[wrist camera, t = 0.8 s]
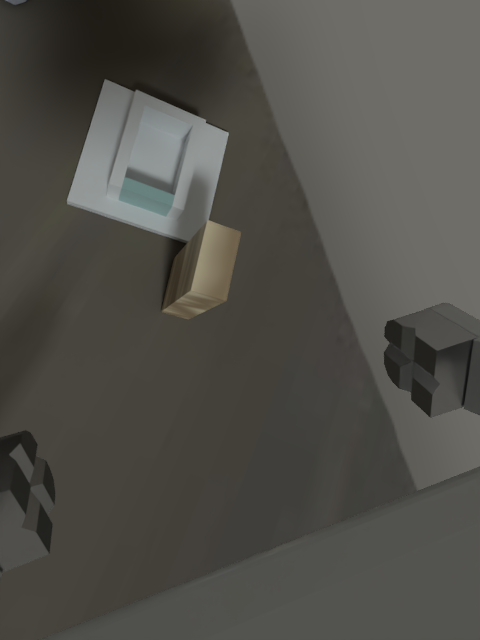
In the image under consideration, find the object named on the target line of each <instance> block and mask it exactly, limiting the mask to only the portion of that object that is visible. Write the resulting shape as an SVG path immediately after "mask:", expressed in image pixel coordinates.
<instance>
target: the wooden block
mask: <svg viewBox="0 0 480 640" xmlns="http://www.w3.org/2000/svg"><path fill="white" fill-rule="evenodd" d="M240 235H241V232H239V231H236V230H233V229H231V228H228V227H225V226H222V225H220V224H217V223H214V222H211V221H208V220H207V221H206V222H205V223H204V225H203V226H202V227H201V228H200V229H199V230H198V231H197V233H196V234H195V235H194V236H193V237H192V238H191V239H190V241H189V242H188V243H187V244H186V245H185V246H184V247H183V249H182V250H181V251H180V252H179V253H178V254H177V255H176V257H175V258H174V261H173V265H172V269H171V273H170V277H169V281H168V285H167V289H166V293H165V297H164V301H163V305H162V309H161V312H163V313H167V314H170V315H174V316H178V317H181V318H185V319H190V318H192V317H194V316H196V315H198V314H200V313H202V312H204V311H206V310H209V309H211V308H213V307H215V306H217V305H219V304H221V303H223V302H225V301H226V300H227V295H228V291H229V286H230V281H231V277H232V272H233V268H234V263H235V258H236V254H237V249H238V244H239V240H240Z"/></svg>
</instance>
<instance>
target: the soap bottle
mask: <svg viewBox="0 0 480 640" xmlns="http://www.w3.org/2000/svg"><path fill="white" fill-rule="evenodd" d="M5 1H7V2H9V3H11V4H13V5H17V4H20V3H24V2H26V1H27V0H5Z"/></svg>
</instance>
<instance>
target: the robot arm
mask: <svg viewBox="0 0 480 640" xmlns="http://www.w3.org/2000/svg"><path fill="white" fill-rule="evenodd" d="M384 336H385V338H386V339H387V340H388V341H389V342H390V344H389V345H388V347H387V349H386V350H385V352H384V365H385V368H386V371H387V374H388V376H389V377H390V379H391V380H392V382H393V383H394V384H395V385H396V386H397V387H398V388H399V389H402V390H406V391H409V392H411V400H412V401H413V402H414V403H415V404H416V405H417V406H418V407H420V408H421V409H422V410H423V411H424V412H425V413H426V414H427V415H428V416H429V417H434V416H437V415H440V414H443V413H446V412H449V411H452V410H456V409H458V408H462V407H464V409H466V410H468V411H470V412H473V413H475V414H478V415H480V320H478V319H476V318H474V317H473V316H471V315H469V314H467V313H466V312H464V311H462V310H460V309H459V308H457V307H455V306H453V305H451V304H449V303H441V304H439V305H435V306H432V307H429V308H426V309H424V310H422V311H419V312H416V313H412V314H409V315H406V316H403V317H400V318H397V319H393V320H390V321H387V324H386V326H385V335H384ZM37 445H38V444H37V443H36V441H35V439H34V438H33V436H32V434H31V433H30V432H28V431H26V430H25V431H21V432H18V433H14V434H11V435H7V436H4V437H0V579H1V577H2V576H3V574H2V572H5V571H7V570H10V569H12V568H15V567H18V566H20V565H23V564H25V563H28V562H31V561H33V560H36V559H38V558H41V557H43V556H46V555H49V553H50V544H51V534H52V522H51V520H50V519H49V517H48V515H47V514H48V513H49V512H50V510H51V509H52V508H53V506H54V504H55V487H54V479H53V476H52V473H51V470H50V468H49V466H48V464H47V462H46V460H44V459H42V458H40V457H38V456H36V451H37ZM39 640H480V467H477V468H475V469H472V470H470V471H467V472H464V473H462V474H459V475H457V476H454V477H452V478H450V479H447V480H444V481H442V482H439V483H437V484H434V485H431V486H429V487H426V488H424V489H421V490H419V491H416V492H414V493H411V494H408V495H406V496H403V497H401V498H398V499H396V500H393V501H391V502H388V503H386V504H383V505H380V506H378V507H375V508H373V509H370V510H368V511H365V512H363V513H360V514H358V515H355V516H352V517H350V518H347V519H345V520H342V521H340V522H337V523H335V524H332V525H330V526H327V527H324V528H322V529H319V530H317V531H314V532H312V533H309V534H307V535H304V536H302V537H299V538H296V539H294V540H291V541H289V542H286V543H284V544H281V545H279V546H276V547H274V548H271V549H268V550H266V551H263V552H261V553H258V554H256V555H253V556H251V557H248V558H246V559H243V560H240V561H238V562H235V563H233V564H230V565H228V566H225V567H223V568H220V569H218V570H215V571H212V572H210V573H207V574H205V575H202V576H200V577H197V578H195V579H192V580H190V581H187V582H184V583H182V584H179V585H177V586H174V587H172V588H169V589H167V590H164V591H162V592H159V593H156V594H154V595H151V596H149V597H146V598H144V599H141V600H139V601H136V602H134V603H131V604H128V605H126V606H123V607H121V608H118V609H116V610H113V611H111V612H108V613H106V614H103V615H100V616H98V617H95V618H93V619H90V620H88V621H85V622H83V623H80V624H78V625H75V626H72V627H70V628H67V629H65V630H62V631H60V632H57V633H55V634H52V635H50V636H47V637H44V638H42V639H39Z"/></svg>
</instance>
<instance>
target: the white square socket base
mask: <svg viewBox="0 0 480 640" xmlns="http://www.w3.org/2000/svg"><path fill="white" fill-rule="evenodd" d="M228 135H229V133H228V132H225V131H223V130H221V129H219V128H216V127H214V126H212V125H209V124H207V123H206V120H205V119H202V118H200V117H198V116H195V115H193V114H191V113H189V112H186V111H184V110H182V109H179V108H177V107H175V106H173V105H170V104H168V103H166V102H164V101H161V100H159V99H157V98H154V97H152V96H150V95H148V94H145V93H143V92H141V91H138V90H136V92H134V91H132V90H129V89H127V88H125V87H122V86H120V85H118V84H115V83H113V82H111V81H109V80H106V79H105V80H104V83H103V87H102V90H101V93H100V96H99V100H98V103H97V106H96V109H95V112H94V116H93V119H92V122H91V125H90V128H89V132H88V135H87V138H86V141H85V144H84V148H83V151H82V154H81V157H80V160H79V164H78V167H77V170H76V173H75V176H74V180H73V183H72V186H71V189H70V192H69V196H68V199H67V204H70V205H73V206H76V207H79V208H82V209H85V210H88V211H91V212H94V213H97V214H100V215H103V216H106V217H109V218H112V219H115V220H118V221H121V222H124V223H127V224H130V225H133V226H136V227H139V228H142V229H145V230H148V231H151V232H154V233H157V234H160V235H163V236H166V237H169V238H172V239H175V240H178V241H181V242H184V243H188V242H189V241H190V239H191V238H192V237H193V236H194V235H195V234H196V233H197V231H198V230H199V229H200V228H201V227H202V226H203V225H204V223H205V222H206V221H207V220H209V216H210V211H211V207H212V203H213V199H214V194H215V190H216V186H217V182H218V177H219V173H220V169H221V164H222V160H223V156H224V152H225V147H226V143H227V139H228Z"/></svg>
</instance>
